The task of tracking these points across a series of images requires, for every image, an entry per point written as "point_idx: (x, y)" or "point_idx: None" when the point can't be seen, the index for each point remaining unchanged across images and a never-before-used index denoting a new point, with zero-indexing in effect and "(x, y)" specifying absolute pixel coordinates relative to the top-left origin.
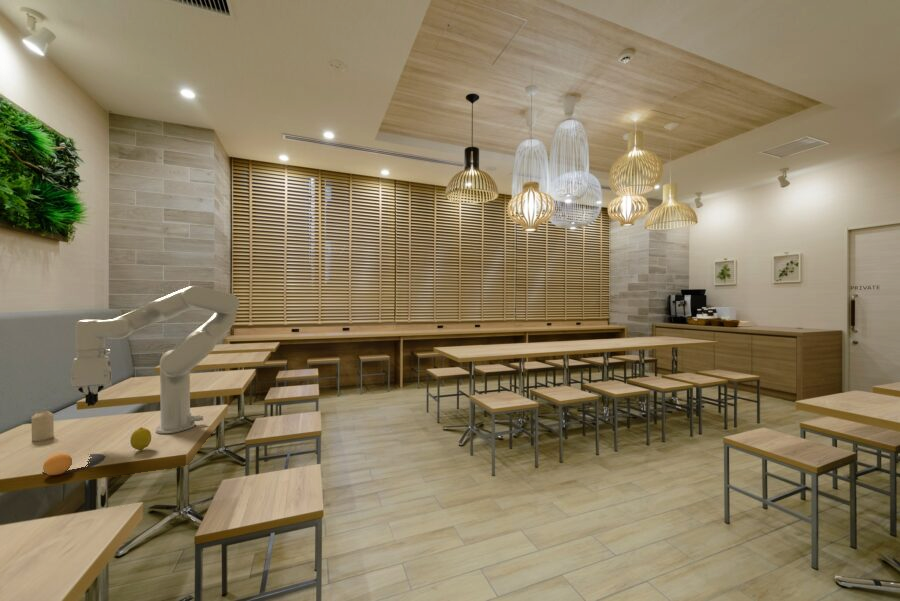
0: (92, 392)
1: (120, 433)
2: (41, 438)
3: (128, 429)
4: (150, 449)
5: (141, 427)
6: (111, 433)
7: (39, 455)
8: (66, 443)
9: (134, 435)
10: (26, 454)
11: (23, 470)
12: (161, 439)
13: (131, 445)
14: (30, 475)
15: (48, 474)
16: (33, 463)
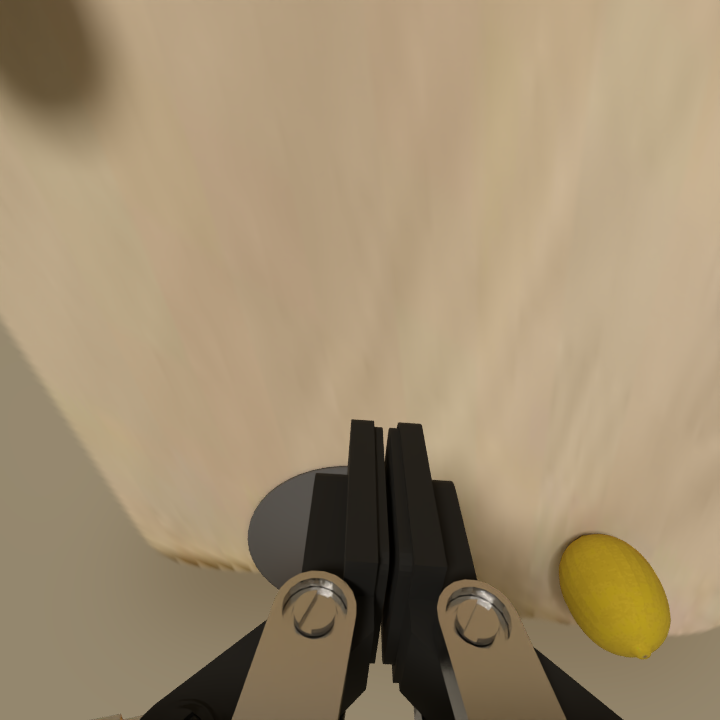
0: (405, 689)
1: (532, 128)
2: None
3: (599, 23)
4: None
5: (647, 657)
6: (472, 74)
7: (142, 337)
8: (206, 162)
9: (592, 640)
10: (53, 271)
11: (172, 507)
12: (701, 439)
13: (559, 575)
14: (225, 567)
15: None
16: (172, 447)
